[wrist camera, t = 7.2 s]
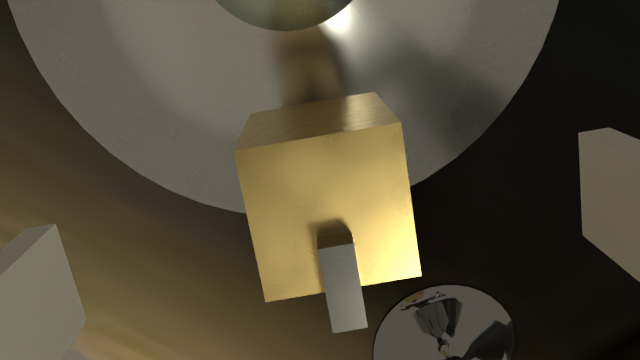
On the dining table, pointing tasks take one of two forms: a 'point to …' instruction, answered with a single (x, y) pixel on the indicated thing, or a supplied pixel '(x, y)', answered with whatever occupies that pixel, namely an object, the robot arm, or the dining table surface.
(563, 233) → the dining table surface
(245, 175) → the knob
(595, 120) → the dining table surface
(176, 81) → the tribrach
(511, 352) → the grey funnel
